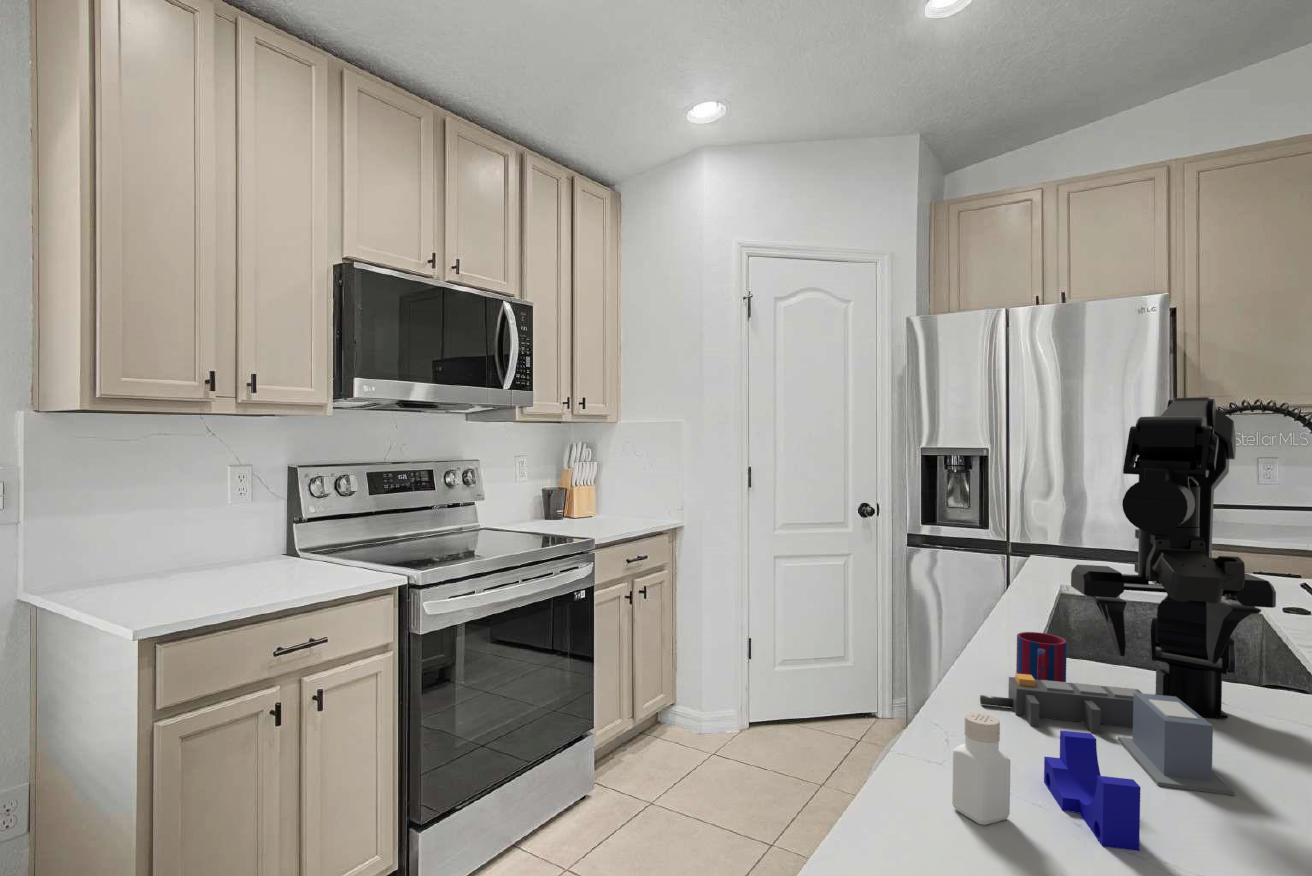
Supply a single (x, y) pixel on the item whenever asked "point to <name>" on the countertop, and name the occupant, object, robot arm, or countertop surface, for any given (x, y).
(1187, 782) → the mat
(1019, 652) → the mug
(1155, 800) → the countertop surface
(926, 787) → the countertop surface
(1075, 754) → the cable clip
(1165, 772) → the block
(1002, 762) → the pepper shaker
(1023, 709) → the power strip
